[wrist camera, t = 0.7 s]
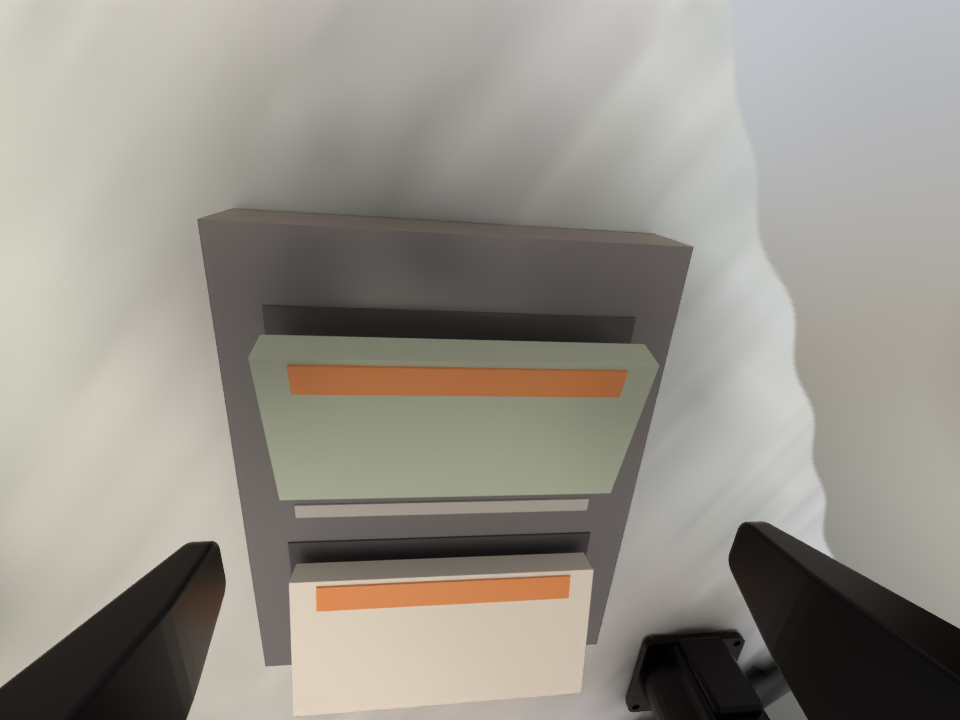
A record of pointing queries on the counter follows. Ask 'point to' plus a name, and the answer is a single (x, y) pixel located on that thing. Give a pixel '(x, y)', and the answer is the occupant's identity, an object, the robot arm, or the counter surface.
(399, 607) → the plate
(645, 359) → the green rocker
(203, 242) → the rocker switch panel
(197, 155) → the counter surface
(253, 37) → the counter surface
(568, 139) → the counter surface
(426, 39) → the counter surface
